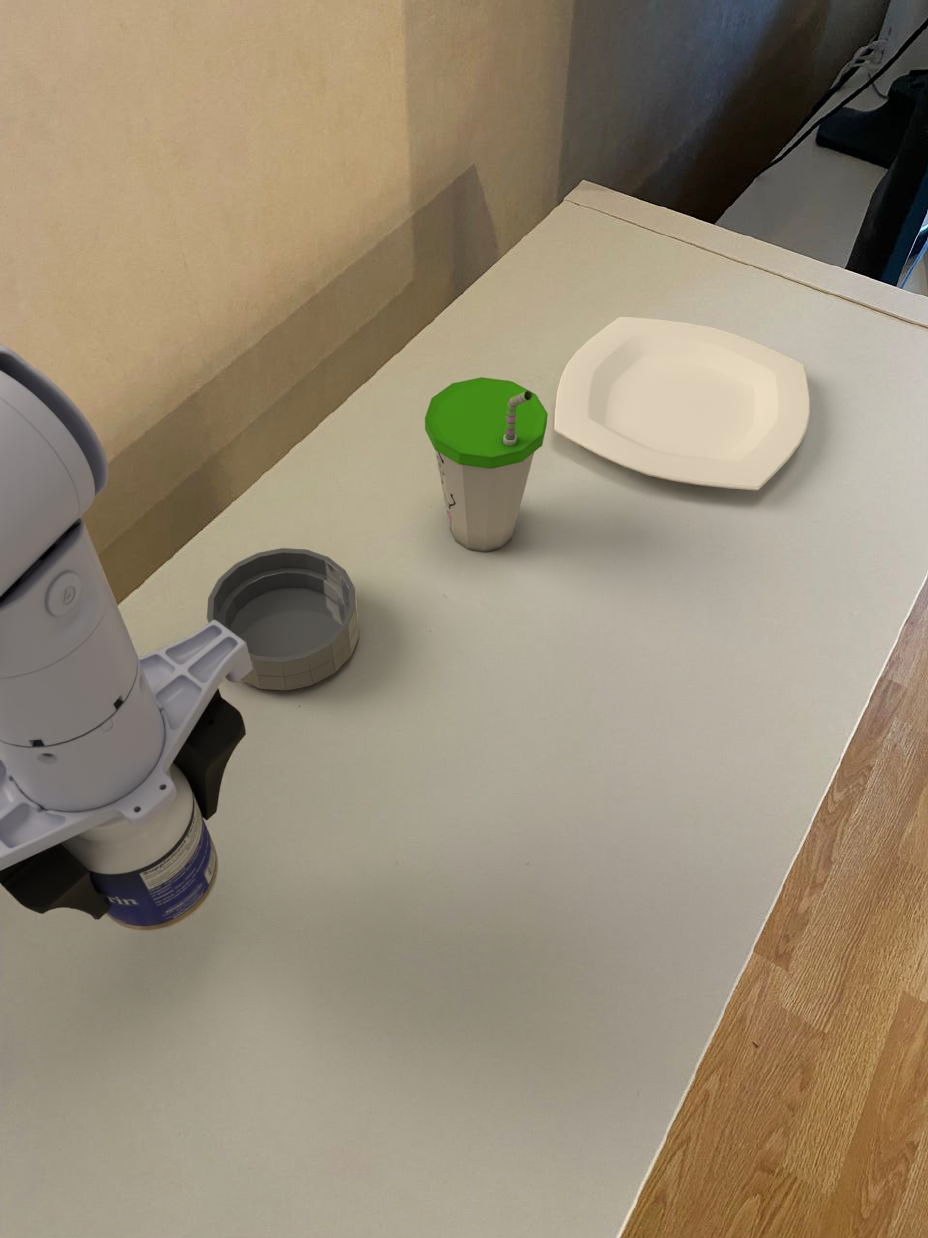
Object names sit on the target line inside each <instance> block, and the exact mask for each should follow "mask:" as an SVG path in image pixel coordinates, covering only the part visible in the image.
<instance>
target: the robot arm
mask: <svg viewBox="0 0 928 1238" xmlns="http://www.w3.org/2000/svg"><path fill="white" fill-rule="evenodd" d="M108 480H109V465H108V459H107V456H106V453H105V450H104V447H103V445H102V443H101V440H100V438H99V437H98V435H97V433H96V431H95V430H94V428H93V427H92V425H91V423H90V421H89V420H88V419H87V418H86V416H85V415H84V413H83V412H82V411H81V409H79V407H78V406H77V405H76V404H75V402H74V401H73V400H72V399H71V398H70V397H69V396H68V395H67V394H66V393H65V392H64V390H62V389H61V388H60V387H59V386H58V384H56V383H55V382H54V381H53V380H52V379H51V378H49V377H48V376H46V374H44V372H42V371H41V370H39V369H38V368H36V367H35V366H33V365H32V364H31V363H29V362H28V361H27V360H25V359H24V357H22V356H20V355H19V354H18V353H17V352H15V350H13V349H12V348H10V347H8V346H6V345H4V344H1V343H0V885H1V886H2V887H3V889H5V890H6V891H7V892H8V894H10V895H11V896H12V897H13V898H14V899H15V900H16V901H17V902H18V903H19V904H20V905H21V906H23V907H24V908H26V909H28V910H30V911H32V912H33V913H34V912H35V913H37V914H39V915H40V914H41V915H44V914H46V913H48V912H49V911H53V910H56V909H61V908H62V909H64V908H65V909H73V910H76V911H80V912H83V913H86V914H87V915H90V916H91V917H92V918H93V919H94V920H95V921H98V920H101V919H102V917H103V916H105V915H106V913H107V912H108V911H109V910H110V907H109V905H108V903H107V902H106V901H105V900H104V899H103V898H102V897H101V896H100V895H99V894H98V893H97V892H96V890H95V889H94V887H93V885H92V883H91V880H90V876H89V873H90V871H89V870H88V869H87V868H86V867H85V866H84V865H83V864H82V863H81V862H79V861H78V860H77V859H76V858H75V857H74V856H73V855H72V854H71V853H70V852H69V851H68V850H67V849H66V848H65V847H64V846H63V845H62V844H61V842H63V841H65V840H67V839H69V838H71V837H74V836H76V835H78V834H80V833H82V832H84V831H87V830H89V829H91V828H93V827H95V826H97V825H99V824H102V823H104V822H106V821H108V820H110V819H112V818H115V817H122V818H124V819H125V820H126V821H127V822H128V823H129V824H131V825H133V826H136V827H137V826H144V825H146V824H147V823H149V822H150V821H151V820H153V819H154V818H155V817H156V816H157V815H158V814H159V813H160V812H162V811H163V810H164V809H165V808H166V807H167V806H168V805H170V804H171V803H172V802H173V800H174V799H175V798H176V794H177V790H176V787H175V785H174V783H173V781H172V779H171V778H170V777H169V776H168V775H167V774H166V772H167V770H168V769H169V767H170V765H171V764H172V762H173V763H174V764H175V765H176V766H177V767H178V768H179V769H180V770H181V771H182V772H183V774H184V775H185V777H186V779H187V780H188V782H189V785H190V787H191V789H192V792H193V794H194V797H195V799H196V802H197V804H198V807H199V809H200V812H201V814H202V817H203V819H204V821H206V822H207V821H208V820H210V819H211V818H212V817H213V816H214V815H215V814H217V811H218V806H219V797H220V792H221V786H222V782H223V777H224V774H225V770H226V768H227V766H228V763H229V761H230V758H231V757H232V754H233V753H234V751H235V749H236V748H237V746H238V745H239V743H241V741H242V740H243V739H244V737H245V736H246V735H247V731H246V725H245V721H244V718H243V716H242V714H241V712H240V710H238V708H237V707H235V706H234V705H232V703H230V702H229V701H227V700H226V699H225V698H224V697H222V695H221V691H220V688H219V687H220V686H221V685H222V683H223V682H224V681H225V679H226V680H227V681H229V682H230V683H238V682H239V681H240V680H241V679H242V678H243V677H244V676H246V675H247V674H248V673H249V672H250V671H251V670H252V669H253V668H252V664H251V660H250V656H249V652H248V648H247V644H246V642H245V641H244V640H242V639H241V638H240V637H238V636H237V635H235V634H234V633H233V632H231V631H230V630H229V629H227V628H226V627H225V626H223V625H222V624H221V623H219V622H218V621H217V620H213V621H211V622H210V623H209V624H208V623H207V624H206V625H204V626H203V627H201V628H200V629H198V630H196V631H195V632H193V633H192V634H189V636H187V637H184V638H182V639H180V640H178V641H176V642H174V643H171V644H169V645H167V646H164V647H161V648H159V649H157V650H154V651H152V652H150V653H147V654H145V655H142V656H140V657H139V656H138V653H137V651H136V649H135V646H134V643H133V641H132V638H131V636H130V634H129V630H128V628H127V625H126V623H125V620H124V618H123V615H122V613H121V611H120V608H119V605H118V604H117V601H116V599H115V596H114V593H113V591H112V589H111V586H110V585H111V584H110V583H109V581H108V578H107V575H106V573H105V570H104V568H103V566H102V562H101V560H100V558H99V555H98V553H97V550H96V547H95V545H94V543H93V540H92V537H91V535H90V532H89V530H88V528H87V525H86V522H85V520H84V518H83V515H84V514H85V513H86V512H87V511H88V510H89V509H90V508H91V507H92V505H93V503H94V499H95V497H97V496H98V495H100V494H101V493H102V492H103V491H104V490H105V488H106V486H107V484H108Z"/></svg>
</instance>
